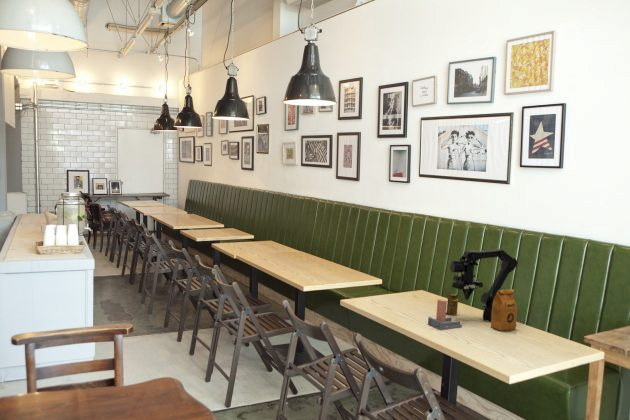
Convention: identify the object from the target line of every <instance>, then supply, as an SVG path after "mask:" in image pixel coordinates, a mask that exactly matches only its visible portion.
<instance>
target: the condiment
mask: <svg viewBox="0 0 630 420" xmlns="http://www.w3.org/2000/svg"><path fill="white" fill-rule="evenodd" d="M458 296H459V295H458V294H456V293H449V294H448V298H447V300H446V301H447V306H446V317H447V316H448V317H451V318H452V317H457V316H459V315H461V314H459V313H458V304H459V299H458V298H459V297H458Z"/></svg>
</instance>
